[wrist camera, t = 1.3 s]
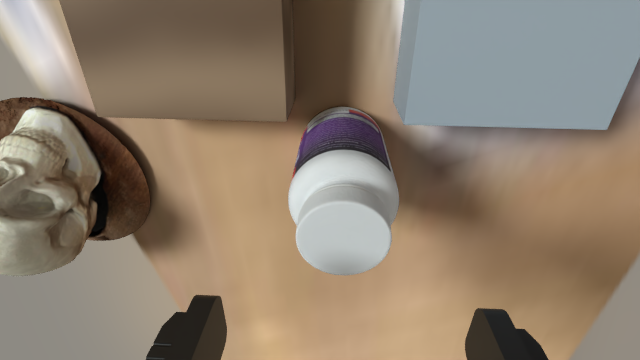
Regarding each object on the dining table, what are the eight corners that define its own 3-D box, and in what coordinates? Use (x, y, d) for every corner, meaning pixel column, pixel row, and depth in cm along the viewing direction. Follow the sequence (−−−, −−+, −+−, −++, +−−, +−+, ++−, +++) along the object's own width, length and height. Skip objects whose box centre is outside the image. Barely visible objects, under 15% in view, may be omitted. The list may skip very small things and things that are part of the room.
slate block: (418, -111, 16) (439, -137, 12) (640, -111, 15) (727, -138, 12) (393, 101, 21) (403, 124, 17) (561, 105, 20) (606, 129, 17)
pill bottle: (286, 126, 22) (253, 214, 14) (364, 90, 21) (381, 164, 12) (323, 191, 24) (314, 301, 16) (395, 162, 23) (427, 267, 15)
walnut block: (82, -110, 16) (14, -135, 13) (289, -111, 16) (275, -136, 13) (136, 95, 21) (97, 116, 18) (295, 99, 21) (286, 121, 18)
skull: (-66, 59, 20) (-73, 155, 14) (129, 84, 27) (175, 154, 22) (-46, 216, 25) (-45, 330, 20) (112, 201, 33) (146, 282, 27)
